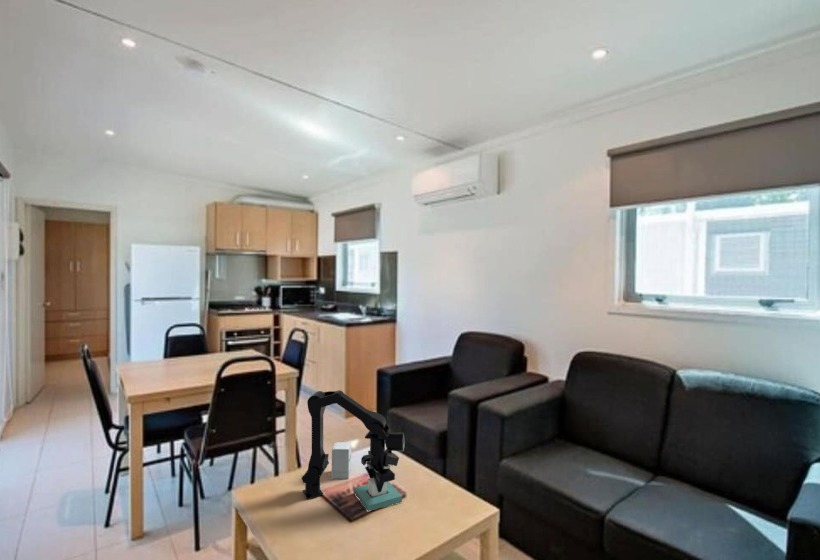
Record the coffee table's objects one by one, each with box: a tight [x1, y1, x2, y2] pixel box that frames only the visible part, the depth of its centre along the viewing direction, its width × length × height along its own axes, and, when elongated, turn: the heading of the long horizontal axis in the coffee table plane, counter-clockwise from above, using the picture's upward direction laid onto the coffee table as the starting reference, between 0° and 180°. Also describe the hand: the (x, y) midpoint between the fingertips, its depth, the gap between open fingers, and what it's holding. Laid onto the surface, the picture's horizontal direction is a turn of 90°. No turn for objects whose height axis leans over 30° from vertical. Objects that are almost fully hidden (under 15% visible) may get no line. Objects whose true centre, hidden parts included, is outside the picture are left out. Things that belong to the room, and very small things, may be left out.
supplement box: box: [331, 441, 352, 480], centre depth 179 cm, size 7×7×13 cm
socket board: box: [353, 481, 403, 511], centre depth 161 cm, size 14×14×2 cm
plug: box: [367, 478, 387, 498], centre depth 161 cm, size 4×6×5 cm, turn 119°
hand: (377, 489), depth 161 cm, fingers closed on plug, 4 cm apart
